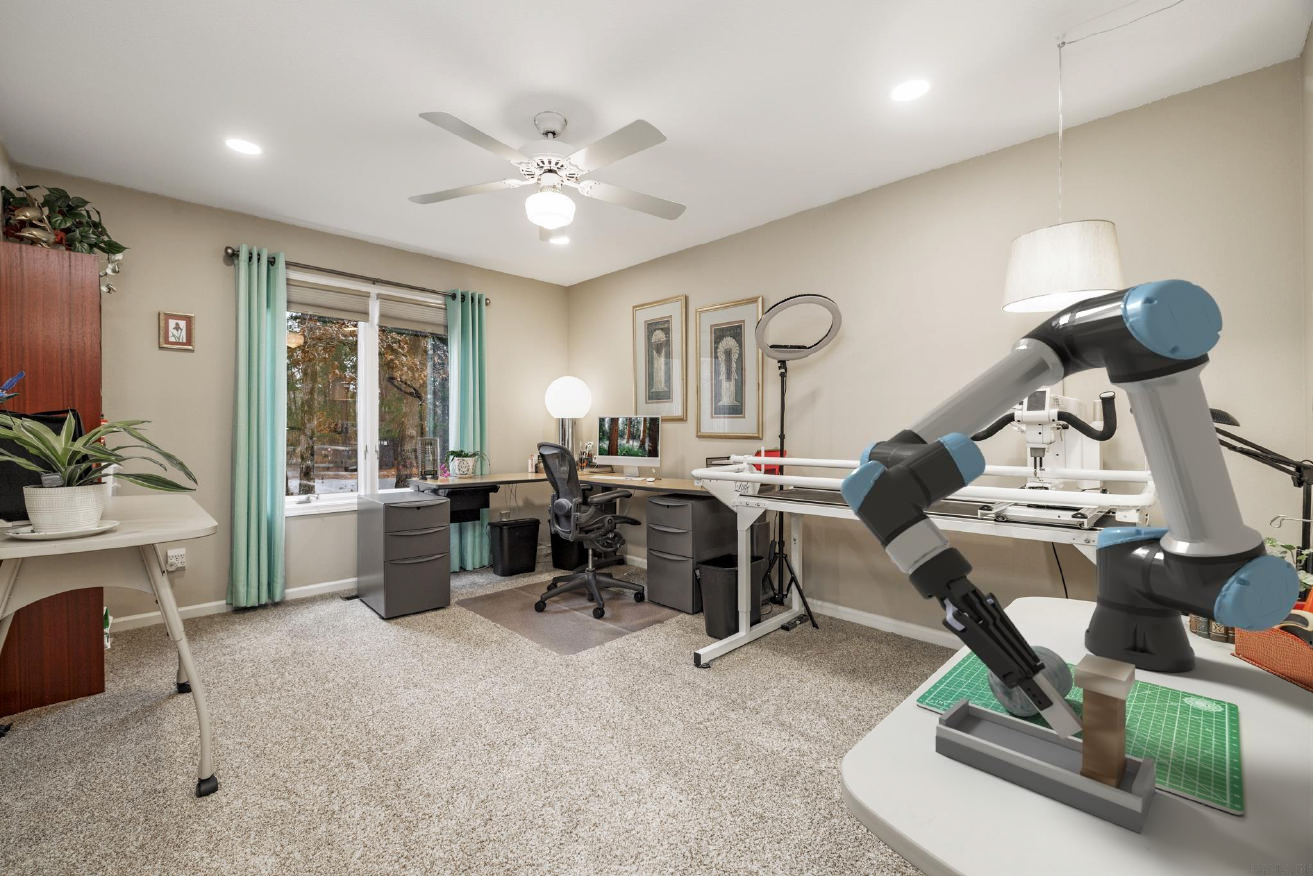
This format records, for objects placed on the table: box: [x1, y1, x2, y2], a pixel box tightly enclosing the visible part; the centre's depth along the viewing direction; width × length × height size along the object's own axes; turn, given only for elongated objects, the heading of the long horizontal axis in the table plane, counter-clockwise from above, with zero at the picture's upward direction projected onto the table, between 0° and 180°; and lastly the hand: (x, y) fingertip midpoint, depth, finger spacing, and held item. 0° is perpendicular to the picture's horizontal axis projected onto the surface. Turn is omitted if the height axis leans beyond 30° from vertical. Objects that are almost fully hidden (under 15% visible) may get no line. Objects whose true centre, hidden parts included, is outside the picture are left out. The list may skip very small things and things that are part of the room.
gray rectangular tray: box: [935, 696, 1156, 834], centre depth 69 cm, size 20×10×4 cm, turn 42°
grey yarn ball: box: [986, 645, 1074, 717], centre depth 85 cm, size 14×10×10 cm
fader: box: [1073, 653, 1136, 789], centre depth 64 cm, size 4×7×12 cm, turn 132°
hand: (1073, 732), depth 66 cm, fingers closed
